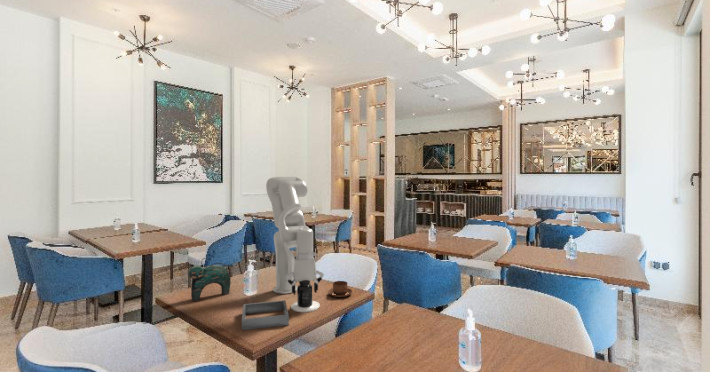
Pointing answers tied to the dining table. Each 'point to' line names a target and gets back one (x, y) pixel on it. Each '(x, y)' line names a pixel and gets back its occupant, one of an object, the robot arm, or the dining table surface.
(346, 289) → the cup and saucer
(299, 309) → the plate
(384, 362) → the dining table surface
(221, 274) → the ceramic cat
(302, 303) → the supplement bottle
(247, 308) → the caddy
